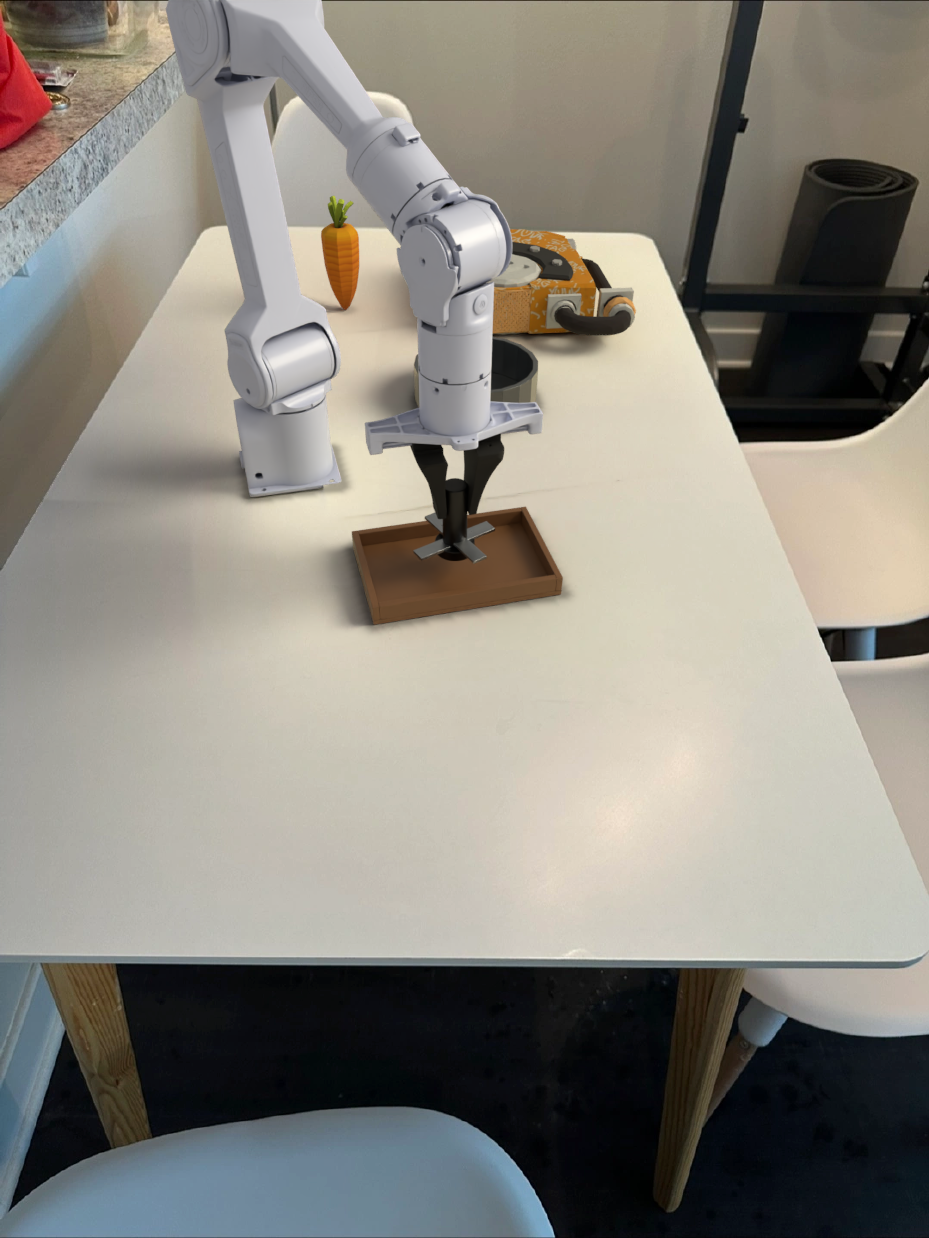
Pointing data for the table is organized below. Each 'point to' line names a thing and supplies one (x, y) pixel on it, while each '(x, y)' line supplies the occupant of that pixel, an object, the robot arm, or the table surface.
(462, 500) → the blade
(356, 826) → the table surface
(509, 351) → the processor bowl
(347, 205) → the carrot
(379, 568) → the tray
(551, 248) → the device
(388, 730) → the table surface
